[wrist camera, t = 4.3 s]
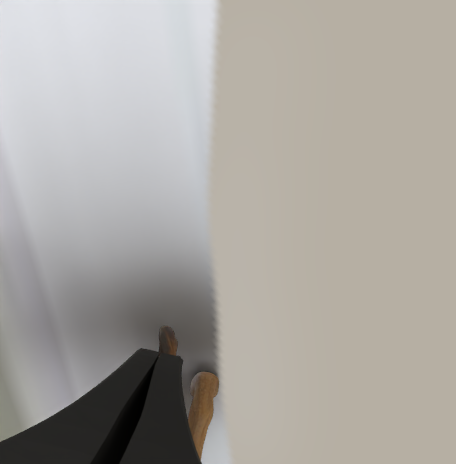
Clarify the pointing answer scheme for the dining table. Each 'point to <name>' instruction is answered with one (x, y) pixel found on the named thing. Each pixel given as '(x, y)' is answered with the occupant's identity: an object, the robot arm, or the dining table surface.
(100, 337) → the dining table surface
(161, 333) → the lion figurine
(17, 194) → the dining table surface
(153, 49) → the dining table surface
